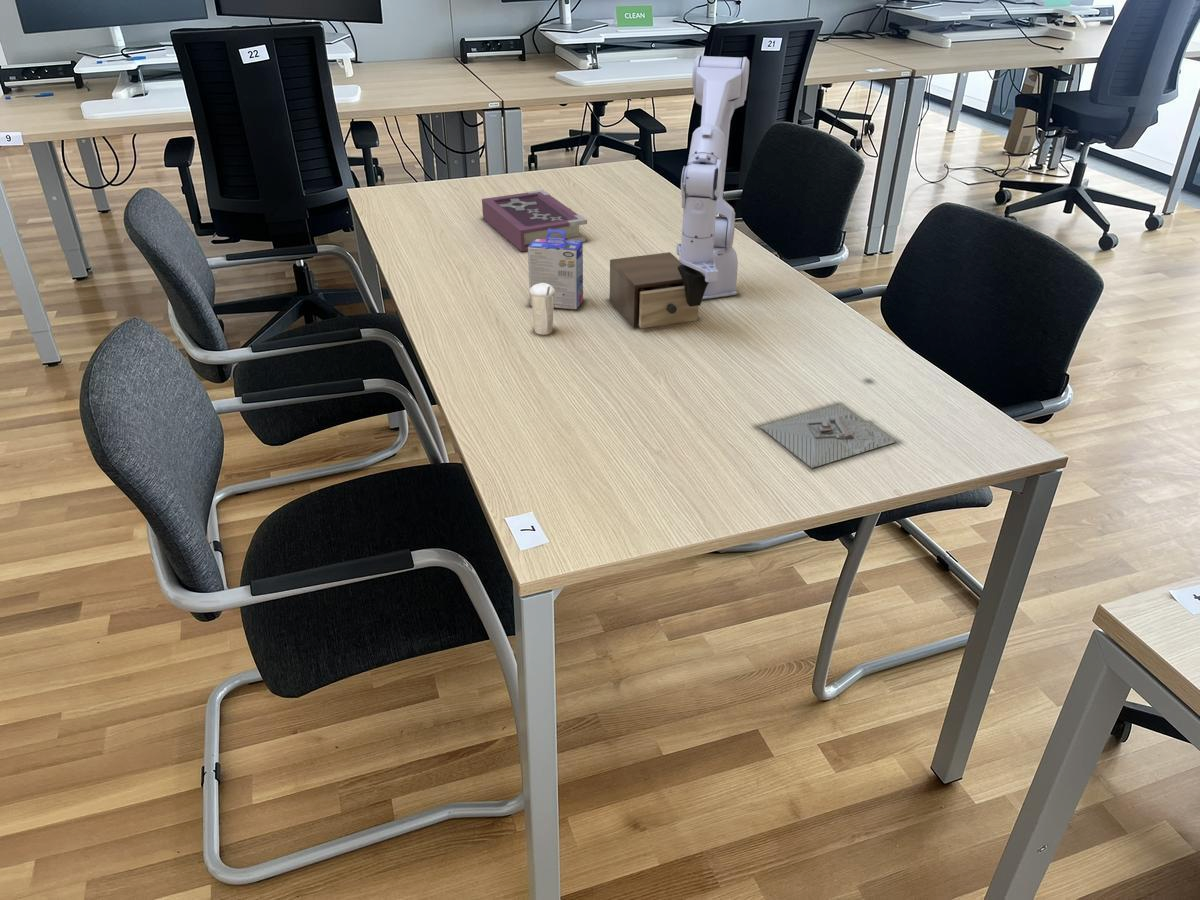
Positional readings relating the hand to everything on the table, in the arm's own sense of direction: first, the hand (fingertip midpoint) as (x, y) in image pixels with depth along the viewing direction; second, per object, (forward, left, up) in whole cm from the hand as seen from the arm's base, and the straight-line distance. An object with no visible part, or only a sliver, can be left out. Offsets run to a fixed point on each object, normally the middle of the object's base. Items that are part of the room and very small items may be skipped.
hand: (693, 304), depth 169 cm
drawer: (+4, -7, -4) cm, 9 cm away
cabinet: (+4, -10, -5) cm, 12 cm away
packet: (+4, -7, -3) cm, 9 cm away
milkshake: (+27, -7, -5) cm, 28 cm away
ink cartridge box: (+21, -19, -5) cm, 29 cm away
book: (+14, -62, -5) cm, 64 cm away
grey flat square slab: (-8, +39, -5) cm, 40 cm away
